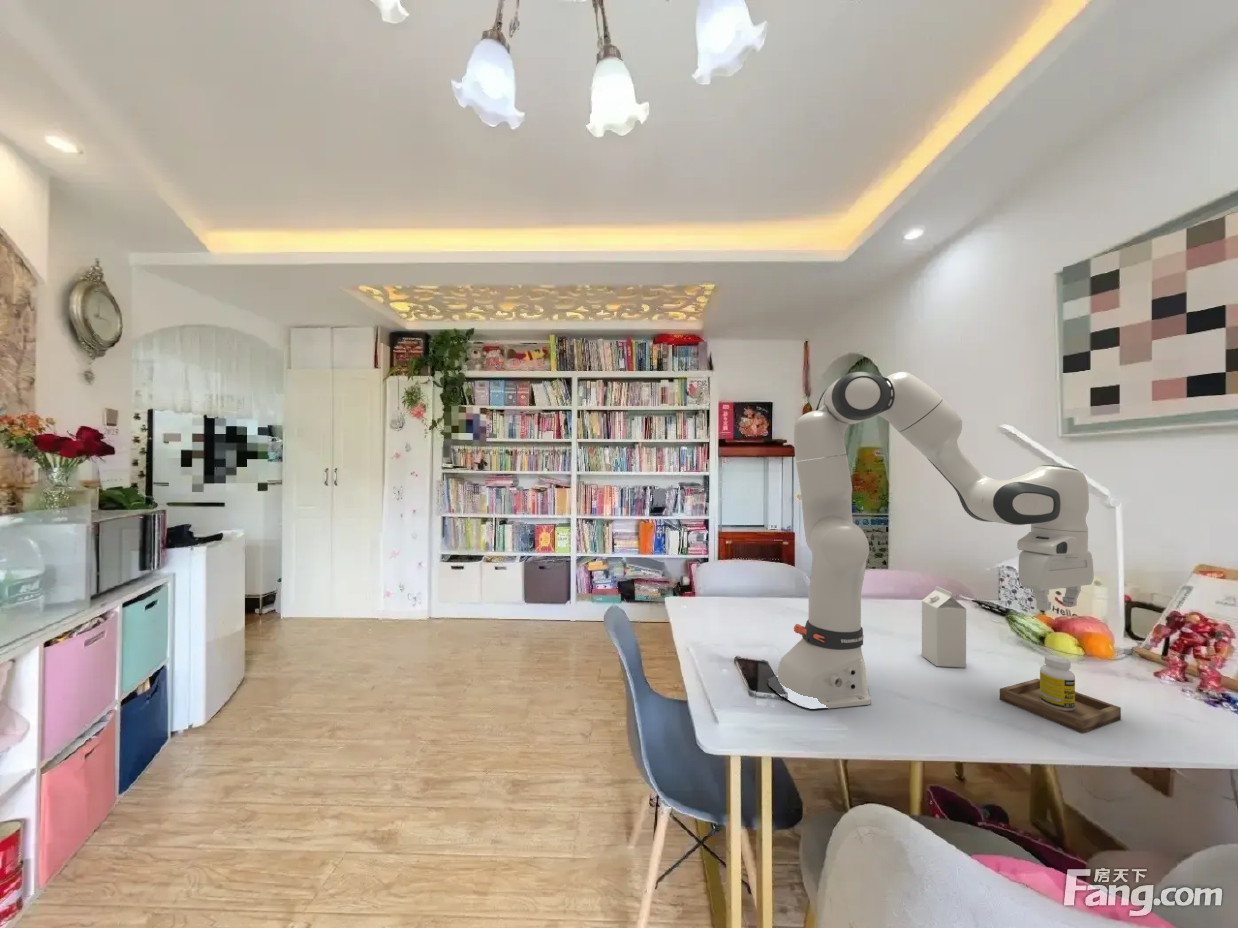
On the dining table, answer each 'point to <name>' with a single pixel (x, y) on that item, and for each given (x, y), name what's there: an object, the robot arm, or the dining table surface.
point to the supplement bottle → (1057, 683)
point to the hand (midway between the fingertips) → (1056, 607)
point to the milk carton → (943, 629)
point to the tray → (1080, 719)
